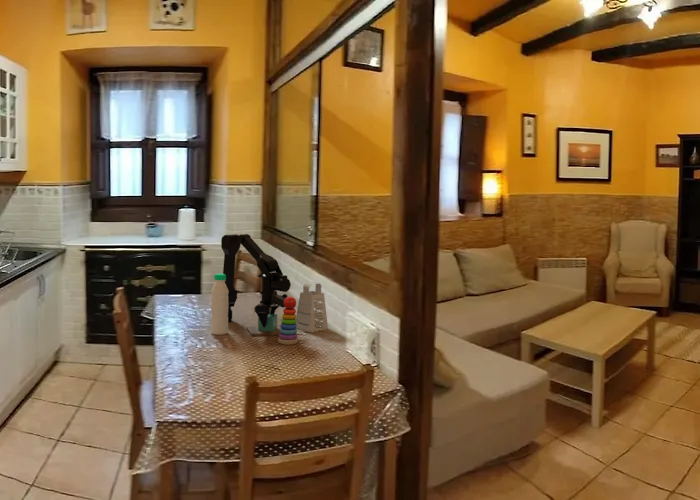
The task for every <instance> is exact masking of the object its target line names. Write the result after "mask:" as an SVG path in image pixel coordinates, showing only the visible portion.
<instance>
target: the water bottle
mask: <svg viewBox="0 0 700 500" xmlns="http://www.w3.org/2000/svg"><path fill="white" fill-rule="evenodd" d="M213 278H214V282H215V283H214V284H213V286H212V288H211V291H210V292H211V293H210V294H211V297H210V298H211V301H210V303H211V305H210V309H211V311H210V313H211V316H210V325H211V326H210V332H211V334H212V335H217V336H218V335H219V336H221V335H223V336H224V335H226V334H227V333H228V332H229V322H228V293H229V291H228V288H227V286H226V284H225V280H226V275H225V274H223V273H215V274H214V277H213Z"/></svg>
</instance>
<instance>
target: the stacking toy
mask: <svg viewBox="0 0 700 500" xmlns="http://www.w3.org/2000/svg"><path fill="white" fill-rule="evenodd" d="M284 306H285V307H284V308H283V310H282V312H283V314H281V317H282V319H281V323H280V326H281V328H280V333H279V335H278V338H277V342H278V343H279V344H281V345H286V346H289V345H290V346H291V345H292V346H293V345H295V344H297V343H298V342H299V340H298V339H299V338H298V329H297V328H296V327H297V325H296V322H297V320H296V315H297V310H296V306H297V300H296V298H295V297H293V296H288V297H287V298H285V300H284Z"/></svg>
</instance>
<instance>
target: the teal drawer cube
mask: <svg viewBox="0 0 700 500" xmlns="http://www.w3.org/2000/svg"><path fill="white" fill-rule="evenodd" d="M257 319H258V321H257V326H258V331H270V332H273V331H274V330H275V329H277V325H278V314H269V315H268V317H267V323H266V327H263V326H262V324H261V321H260V319H259V317H258V316H257Z"/></svg>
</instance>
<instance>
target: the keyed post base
mask: <svg viewBox="0 0 700 500" xmlns="http://www.w3.org/2000/svg"><path fill="white" fill-rule="evenodd" d="M280 325H281V324H280ZM280 325H279V324H277V329H275V330H274V331H273V332H270V331H258V325H257V326H246V327H245V328H246V331H247V332H248V333H249V335H250V336H251V337H260V336H261V337H262V336H279V333H280V328H281V326H280Z"/></svg>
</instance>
